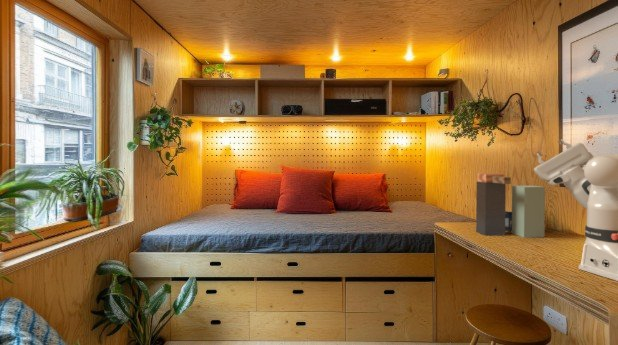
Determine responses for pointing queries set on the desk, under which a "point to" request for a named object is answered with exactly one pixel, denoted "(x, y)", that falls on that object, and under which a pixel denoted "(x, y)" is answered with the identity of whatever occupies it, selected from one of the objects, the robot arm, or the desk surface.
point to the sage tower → (528, 211)
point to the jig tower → (490, 208)
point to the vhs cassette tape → (508, 221)
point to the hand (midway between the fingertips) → (548, 146)
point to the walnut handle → (494, 178)
